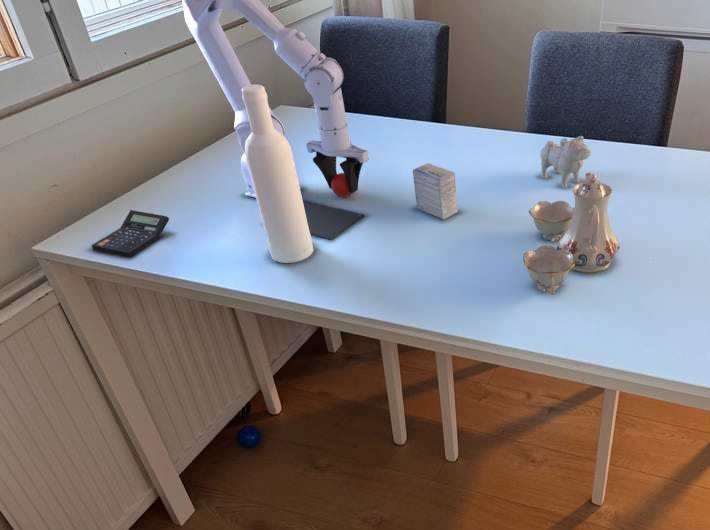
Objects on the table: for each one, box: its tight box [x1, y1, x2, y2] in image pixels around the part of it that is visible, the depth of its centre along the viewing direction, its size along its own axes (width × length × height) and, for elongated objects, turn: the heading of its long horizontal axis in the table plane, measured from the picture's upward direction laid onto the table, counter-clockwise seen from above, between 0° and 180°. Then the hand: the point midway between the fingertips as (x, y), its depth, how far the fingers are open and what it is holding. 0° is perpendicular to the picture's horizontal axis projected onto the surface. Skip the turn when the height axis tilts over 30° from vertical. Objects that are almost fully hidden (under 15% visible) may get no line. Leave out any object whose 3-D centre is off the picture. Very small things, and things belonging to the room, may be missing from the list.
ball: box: [331, 172, 353, 198], centre depth 142 cm, size 5×5×5 cm
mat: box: [302, 199, 365, 241], centre depth 135 cm, size 16×11×1 cm
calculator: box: [91, 209, 170, 258], centre depth 131 cm, size 9×12×3 cm
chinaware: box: [523, 172, 621, 296], centre depth 114 cm, size 28×17×17 cm, turn 178°
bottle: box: [242, 84, 314, 264], centre depth 115 cm, size 8×8×30 cm
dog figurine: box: [539, 135, 592, 189], centre depth 142 cm, size 5×13×11 cm, turn 38°
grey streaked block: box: [412, 162, 459, 220], centre depth 133 cm, size 8×4×9 cm, turn 47°
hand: (343, 189), depth 142 cm, fingers closed on ball, 5 cm apart
